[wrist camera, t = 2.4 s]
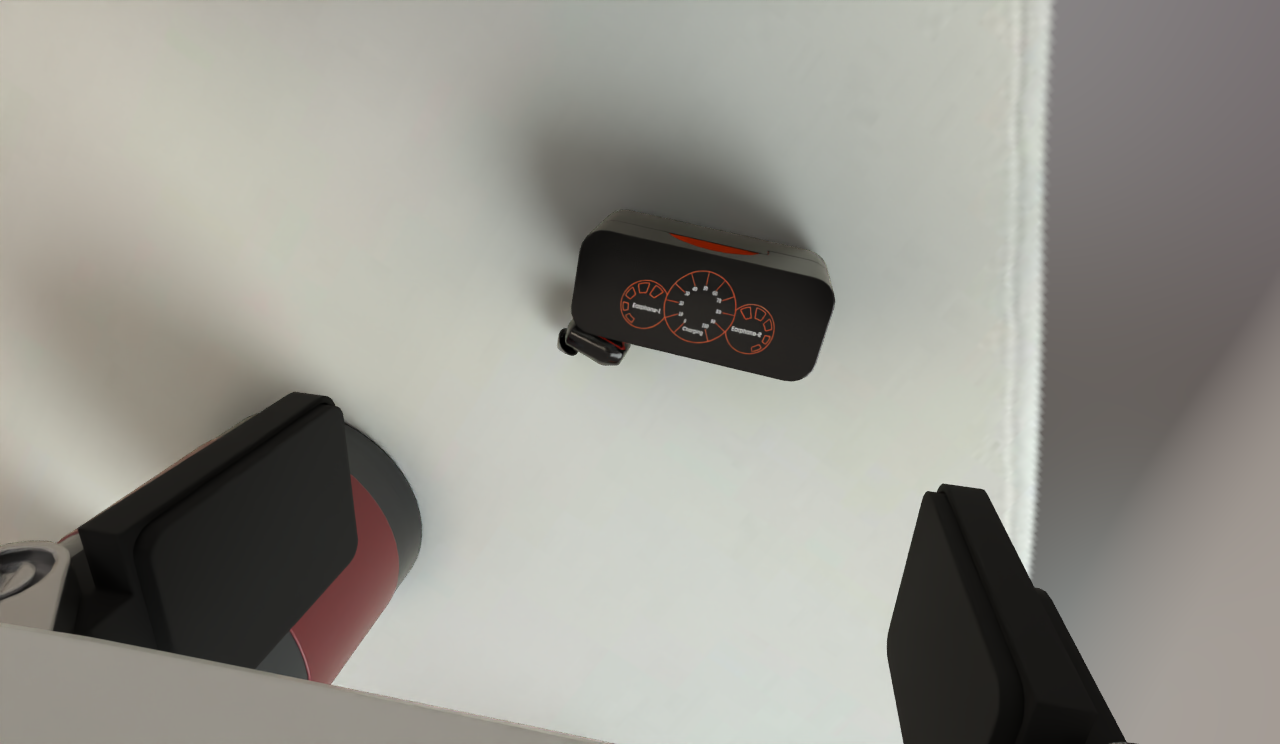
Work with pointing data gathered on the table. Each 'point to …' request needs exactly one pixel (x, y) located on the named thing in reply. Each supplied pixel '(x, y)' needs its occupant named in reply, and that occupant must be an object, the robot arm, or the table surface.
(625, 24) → the table surface
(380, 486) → the tin can
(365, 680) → the table surface
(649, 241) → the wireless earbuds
